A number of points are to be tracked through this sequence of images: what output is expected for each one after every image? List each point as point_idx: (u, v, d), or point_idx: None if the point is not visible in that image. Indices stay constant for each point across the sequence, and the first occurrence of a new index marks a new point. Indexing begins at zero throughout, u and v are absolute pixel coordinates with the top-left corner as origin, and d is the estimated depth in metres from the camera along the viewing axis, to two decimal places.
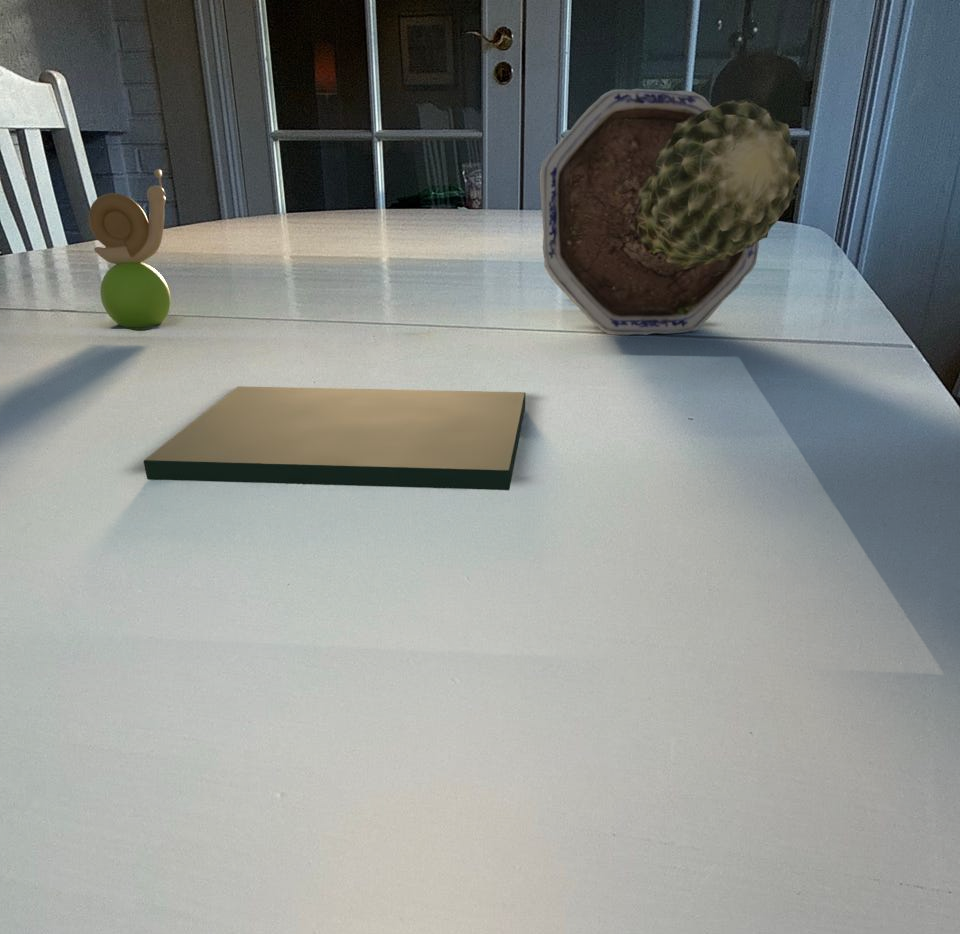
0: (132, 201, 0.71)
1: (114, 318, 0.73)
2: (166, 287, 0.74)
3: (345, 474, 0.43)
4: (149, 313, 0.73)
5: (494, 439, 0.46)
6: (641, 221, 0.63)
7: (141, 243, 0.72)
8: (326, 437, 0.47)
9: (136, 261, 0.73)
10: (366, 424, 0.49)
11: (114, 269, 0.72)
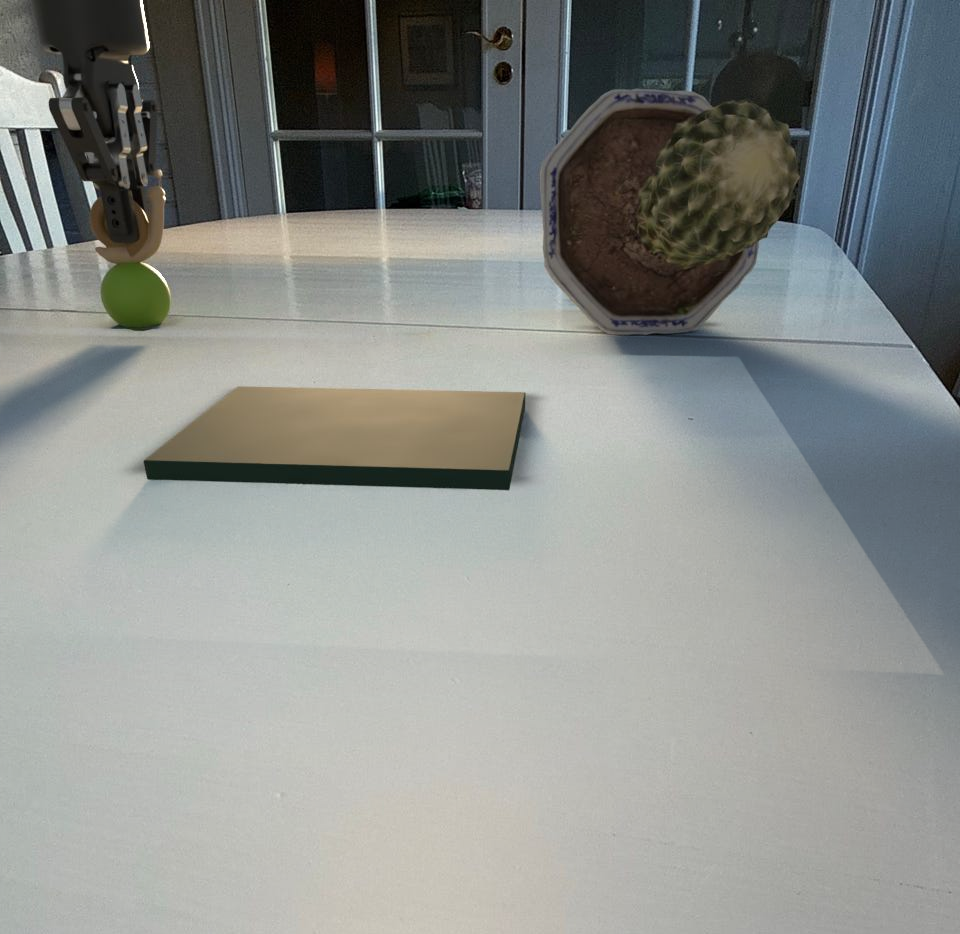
0: None
1: (113, 318, 0.74)
2: (166, 287, 0.74)
3: (345, 474, 0.43)
4: (147, 313, 0.73)
5: (494, 439, 0.46)
6: (641, 221, 0.63)
7: (141, 243, 0.72)
8: (326, 437, 0.47)
9: (136, 261, 0.73)
10: (366, 424, 0.49)
11: (113, 269, 0.72)
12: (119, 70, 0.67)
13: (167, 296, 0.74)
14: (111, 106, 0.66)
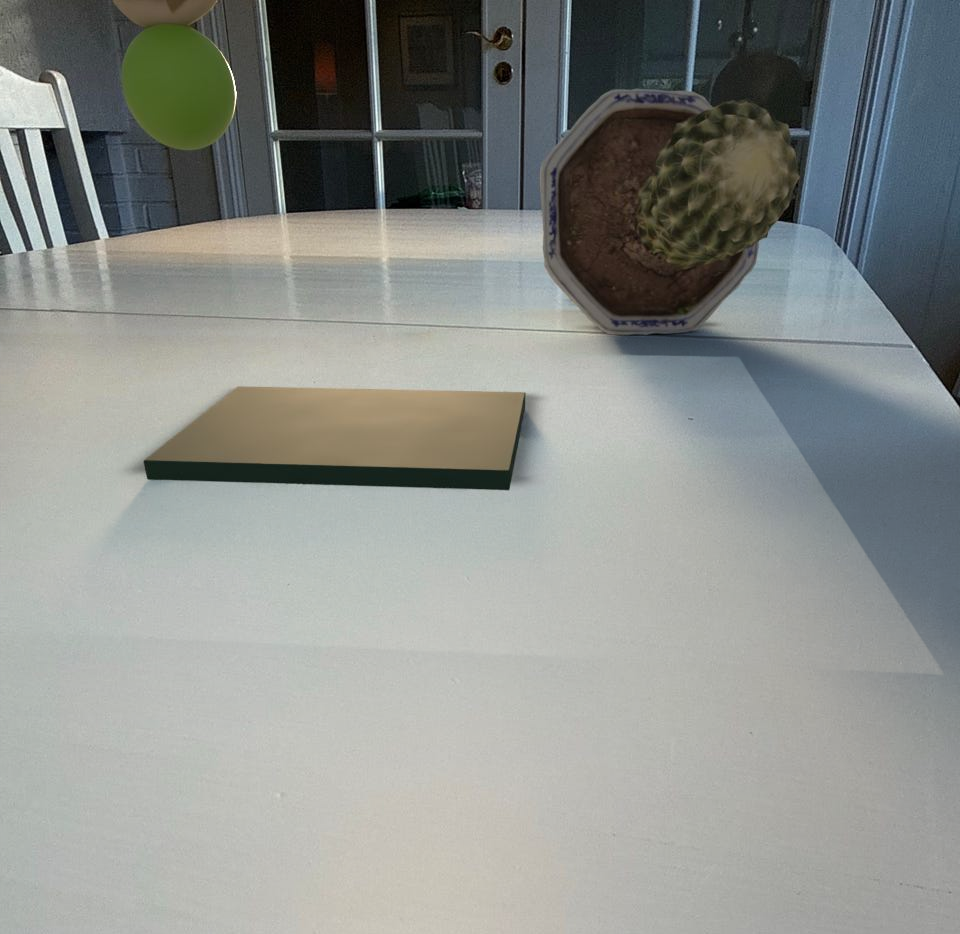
0: None
1: (142, 122, 0.44)
2: (228, 72, 0.44)
3: (345, 474, 0.43)
4: (197, 112, 0.44)
5: (494, 439, 0.46)
6: (641, 221, 0.63)
7: None
8: (326, 437, 0.47)
9: (180, 21, 0.43)
10: (366, 424, 0.49)
11: (142, 33, 0.43)
12: None
13: (230, 87, 0.45)
14: None
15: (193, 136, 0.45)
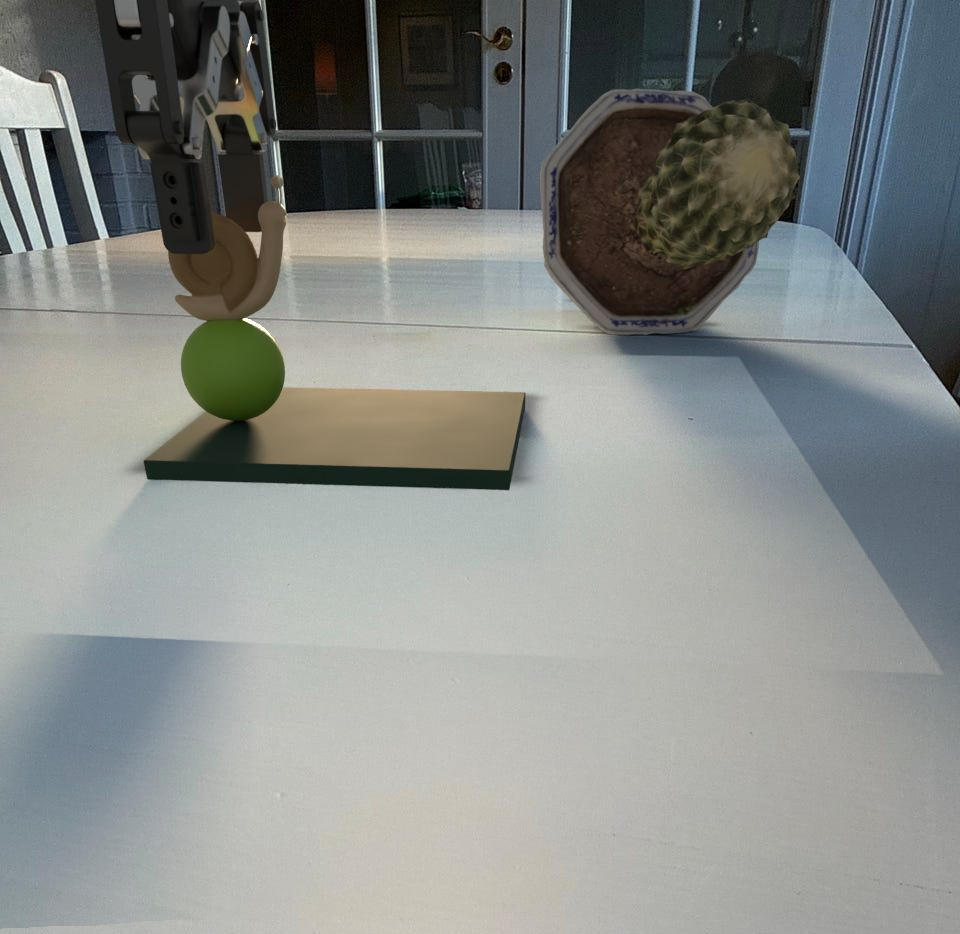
0: (235, 225, 0.45)
1: (198, 403, 0.48)
2: (279, 357, 0.48)
3: (345, 474, 0.43)
4: (250, 398, 0.47)
5: (494, 439, 0.46)
6: (641, 221, 0.63)
7: (245, 291, 0.46)
8: (326, 437, 0.47)
9: (236, 317, 0.47)
10: (366, 424, 0.49)
11: (201, 330, 0.46)
12: None
13: (281, 370, 0.48)
14: None
15: (245, 415, 0.48)
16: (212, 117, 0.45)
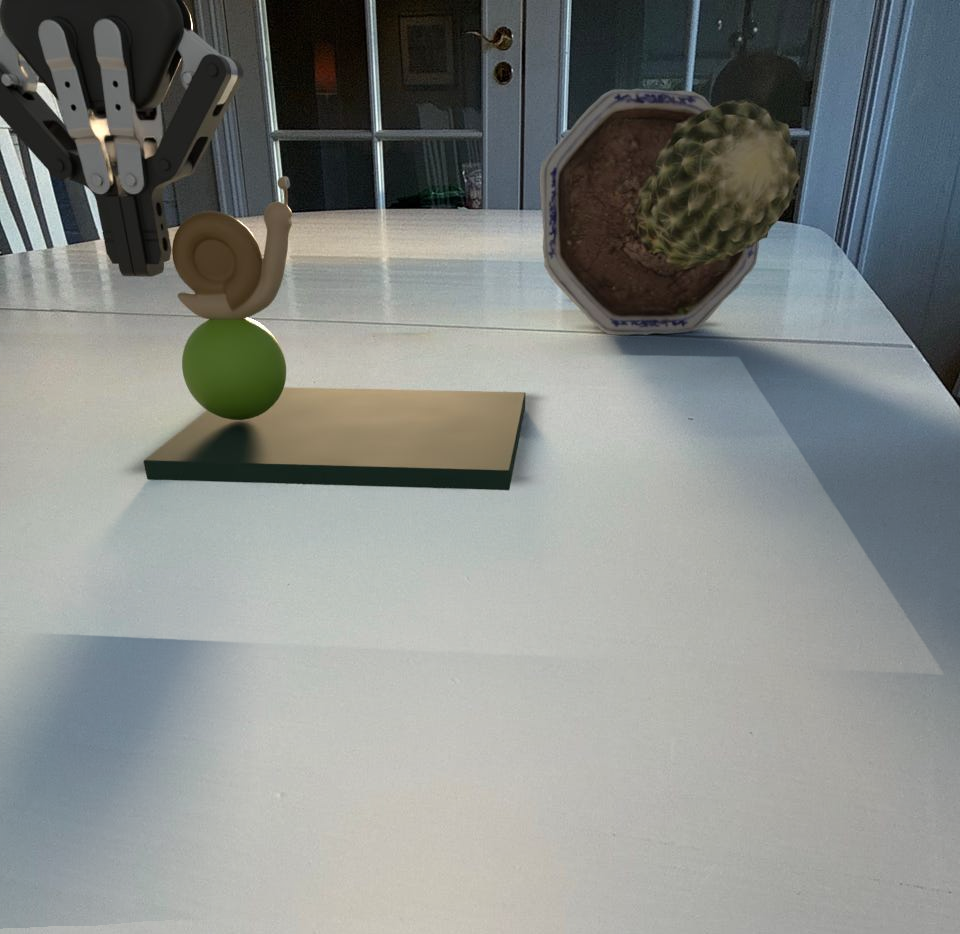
0: (240, 225, 0.45)
1: (199, 401, 0.48)
2: (281, 357, 0.48)
3: (345, 474, 0.43)
4: (251, 398, 0.47)
5: (494, 439, 0.46)
6: (641, 221, 0.63)
7: (249, 291, 0.46)
8: (326, 437, 0.47)
9: (239, 317, 0.47)
10: (366, 424, 0.49)
11: (204, 329, 0.46)
12: None
13: (282, 371, 0.48)
14: None
15: (246, 414, 0.48)
16: None
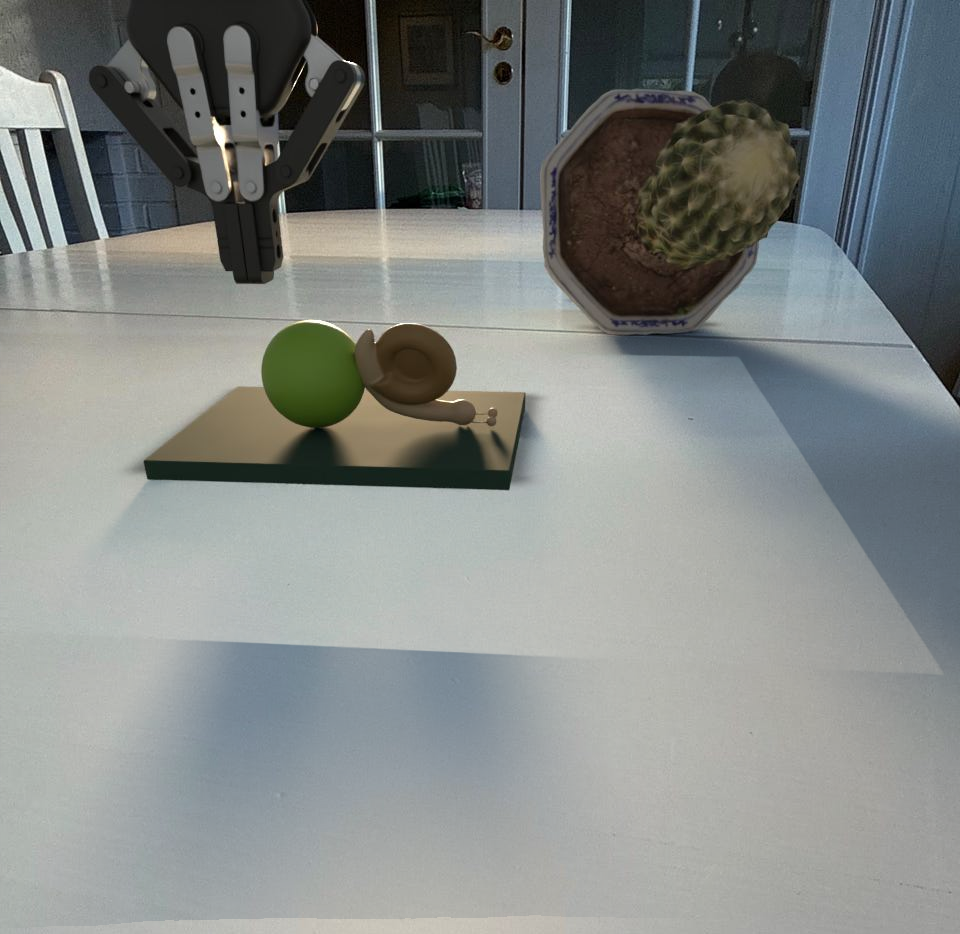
0: (448, 388, 0.47)
1: (271, 368, 0.45)
2: None
3: (345, 474, 0.43)
4: (294, 421, 0.47)
5: (494, 439, 0.46)
6: (641, 221, 0.63)
7: (392, 399, 0.47)
8: (326, 437, 0.47)
9: (365, 387, 0.47)
10: (366, 424, 0.49)
11: (345, 368, 0.45)
12: (226, 3, 0.39)
13: None
14: None
15: (274, 407, 0.47)
16: None
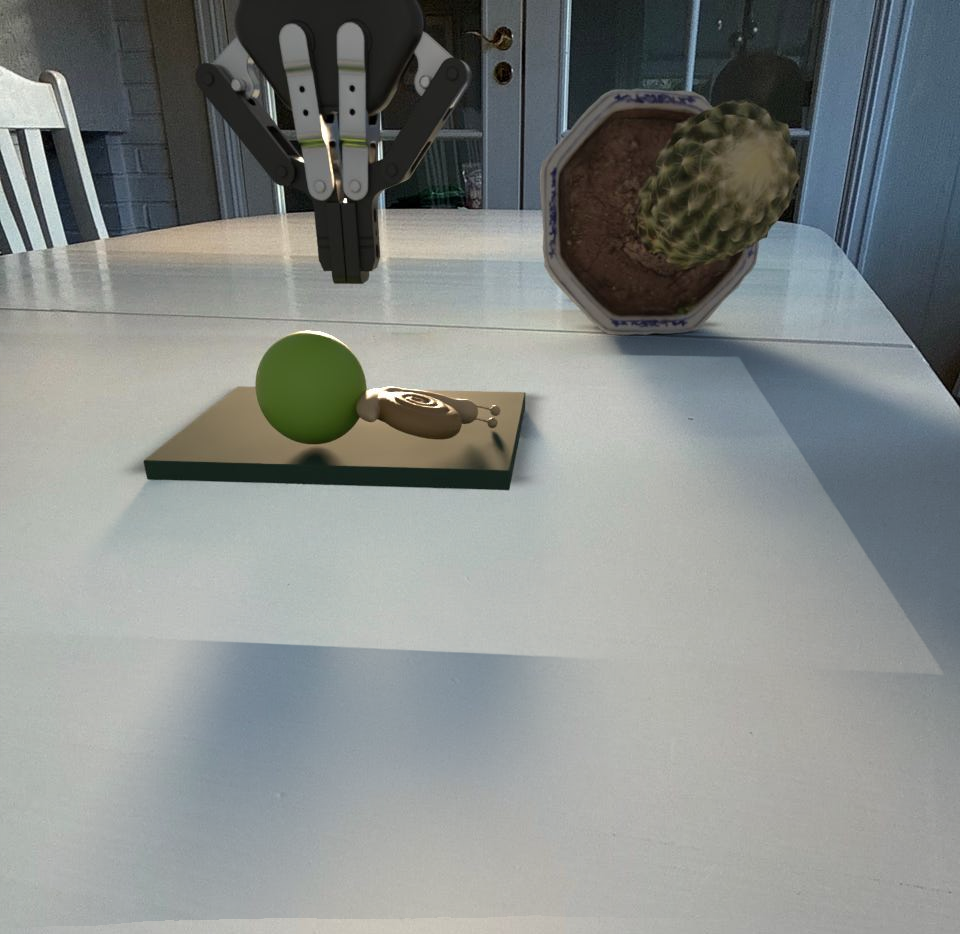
0: None
1: (269, 419, 0.44)
2: None
3: (345, 474, 0.43)
4: None
5: (494, 439, 0.46)
6: (641, 221, 0.63)
7: None
8: None
9: None
10: (366, 424, 0.49)
11: (346, 425, 0.44)
12: (340, 0, 0.39)
13: None
14: None
15: None
16: None
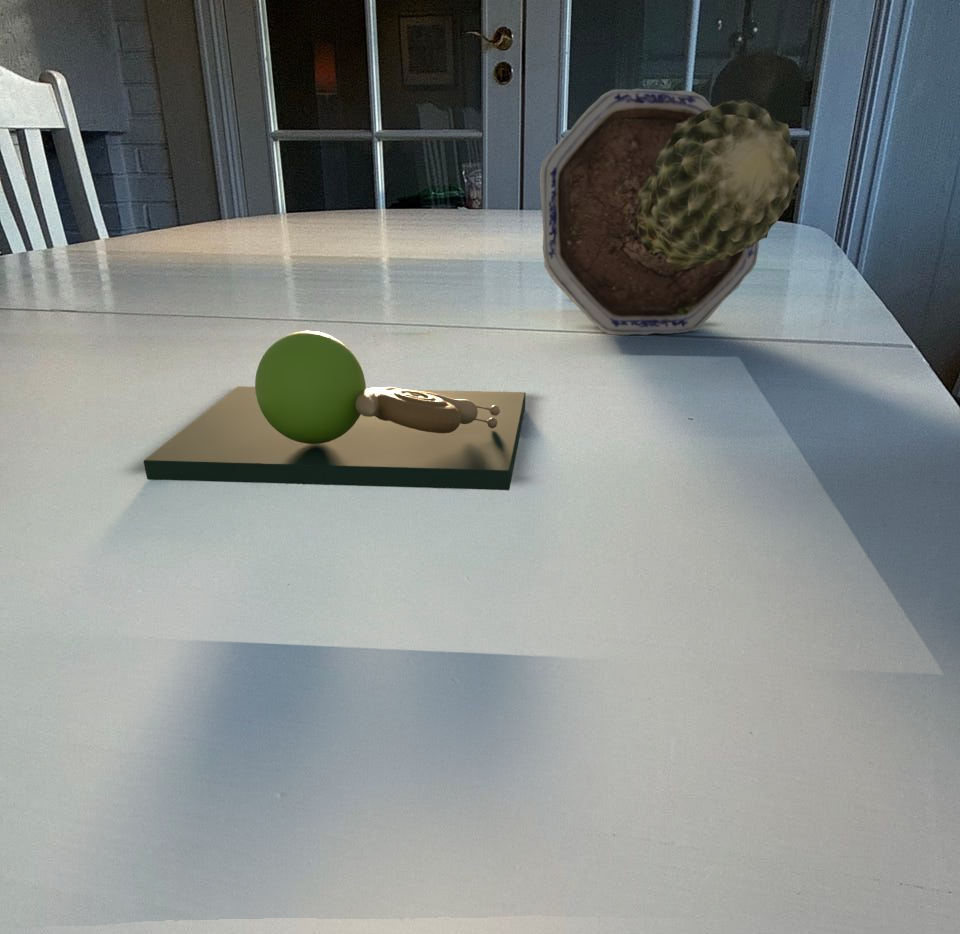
0: None
1: (269, 418, 0.44)
2: None
3: (345, 474, 0.43)
4: None
5: (494, 439, 0.46)
6: (641, 221, 0.63)
7: None
8: None
9: None
10: (366, 424, 0.49)
11: (346, 422, 0.44)
12: None
13: None
14: None
15: None
16: None
